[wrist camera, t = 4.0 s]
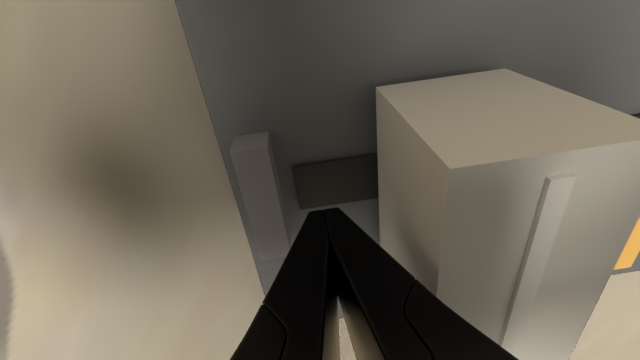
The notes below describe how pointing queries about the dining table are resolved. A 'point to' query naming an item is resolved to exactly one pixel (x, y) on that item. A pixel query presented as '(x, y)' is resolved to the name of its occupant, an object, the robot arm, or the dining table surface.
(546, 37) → the grey fader track
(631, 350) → the dining table surface
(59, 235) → the dining table surface
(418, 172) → the fader cap
